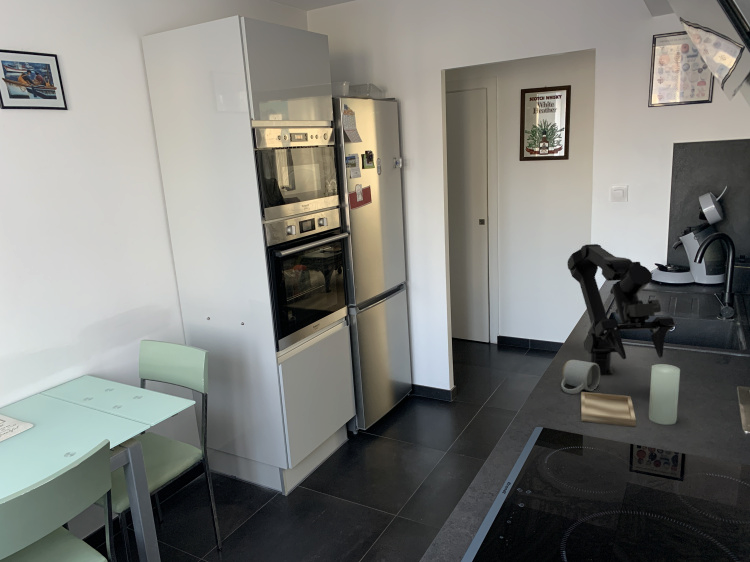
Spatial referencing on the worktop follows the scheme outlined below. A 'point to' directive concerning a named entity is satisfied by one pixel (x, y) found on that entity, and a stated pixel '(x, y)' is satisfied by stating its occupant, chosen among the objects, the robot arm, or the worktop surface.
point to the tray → (607, 409)
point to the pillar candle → (664, 394)
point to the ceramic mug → (580, 376)
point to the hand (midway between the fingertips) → (642, 358)
